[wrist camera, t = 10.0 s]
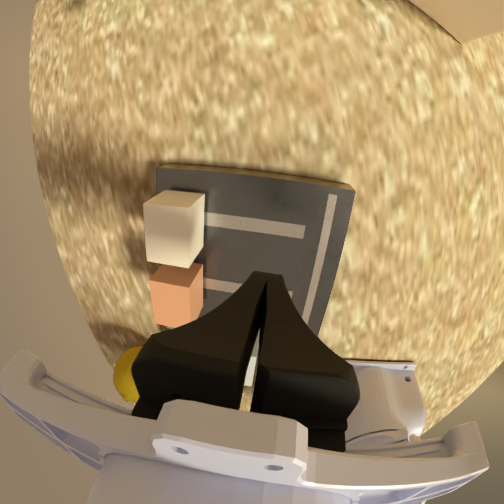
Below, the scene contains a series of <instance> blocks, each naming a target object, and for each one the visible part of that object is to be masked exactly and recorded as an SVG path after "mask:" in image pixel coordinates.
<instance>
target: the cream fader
mask: <svg viewBox="0 0 504 504" xmlns="http://www.w3.org/2000/svg"><path fill="white" fill-rule="evenodd" d="M204 203H205V194H203V193H193V192H182V191H170V190H164V191H163V192H161V193H159V194H158V195H156V196H154V197H153V198H151V199H149V200H148V201H146V202H145V203H143V214H144V231H145V244H146V256H147V261H149V262H155V263H160V264H166V265H172V266H178V267H184V268H189V267H190V265H191V264H192V262H193V261H194V259H195V258H196V257H197V255H198V254H199V252H200V251H201V249H202V248H203V238H204Z"/></svg>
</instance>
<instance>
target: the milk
mask: <svg viewBox="0 0 504 504" xmlns="http://www.w3.org/2000/svg"><path fill="white" fill-rule="evenodd" d="M409 1H410V2H411V3H413V4H414V5H416V6H417V7H418V8H420V9H421V10H422V11H424V12H425V13H426V14H427V15H429V16H430V17H431V18H432V19H434V20H435V21H436V22H437V23H438V24H440V25H441V26H442V27H443V28H444V29H445V30H446V31H448V32H449V33H450V34H451V35H452V36H453V37H454V38H455V39H456V40H457V41H458V42H459V43H460V44H466V43H469V42H472V41H475V40H478V39H481V38H485V37H488V36H491V35H495V34H499V33H503V32H504V0H409Z"/></svg>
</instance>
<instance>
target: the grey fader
mask: <svg viewBox="0 0 504 504" xmlns="http://www.w3.org/2000/svg"><path fill="white" fill-rule="evenodd" d="M259 332H260V329H259ZM259 332H258V335H257V338H256V342H255V345H254V348H253V352H252V355H251V358H250V362H249V365H248V369H247V373H246V378H245V383H244V385H245V386H251V387H252V382H253V376H254V371H255V365H256V359H257V353H258V347H259Z"/></svg>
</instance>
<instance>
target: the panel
mask: <svg viewBox="0 0 504 504" xmlns="http://www.w3.org/2000/svg"><path fill="white" fill-rule="evenodd" d="M156 186H157V195H158V194H159V193H161V192H163V191H164V190H170V191H182V192H193V193H203V194H205V203H204V238H203V248H202V249H201V251H200V252H199V254H198V255H197V257H196V258H195V259H194V261H193V262H192V263H199V264H203V307H202V309H201V311H200V314H199V316H198V318H200V317H202V316H203V315H205V314H207V313H209V312H210V311H212V310H213V309H215V308H216V307H218V306H219V305H220V304H222V303H223V302H224V301H225V300H226V299H228V298H229V297H230V296H231V295H232V294H233V293H234V292H235V291H236V290H237V289H238V288H239V287H240V286H241V285H242V284H243V283H244V282H245V281H246V280H247V278H248V277H249V276H250V275H251V273H252V272H253V271H259V272H266V273H273V274H280V275H282V276H283V277H284V281H285V284H286V287H287V290H288V292H289V295H290V297H291V299H292V301H293V303H294V305H295V307H296V309H297V310H298V312H299V314H300V315H301V317H302V318H303V320H304V321H305V323H306V324H307V325H308V327H309V328H310V329H311V331H312V332H313V333H314V334H315V335H316V336H318V333H319V330H320V327H321V324H322V321H323V317H324V314H325V311H326V308H327V304H328V301H329V298H330V294H331V291H332V287H333V283H334V280H335V276H336V273H337V269H338V265H339V261H340V257H341V253H342V249H343V245H344V241H345V237H346V233H347V228H348V224H349V220H350V215H351V210H352V206H353V201H354V196H355V190H354V189H353V188H352V187H351V186H350V185H348V184H343V183H337V182H331V181H326V180H320V179H314V178H307V177H301V176H294V175H287V174H280V173H272V172H264V171H256V170H247V169H237V168H227V167H216V166H203V165H188V164H170V163H167V164H165V165H162V166H160V167H157V168H156ZM161 265H162V264H160V266H161ZM198 318H197V319H198ZM166 328H167V330H170V329H174V328H173V327H169V326H166ZM259 329H260V328H259ZM258 349H259V347H258ZM256 366H258V353H257V359H256Z"/></svg>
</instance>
